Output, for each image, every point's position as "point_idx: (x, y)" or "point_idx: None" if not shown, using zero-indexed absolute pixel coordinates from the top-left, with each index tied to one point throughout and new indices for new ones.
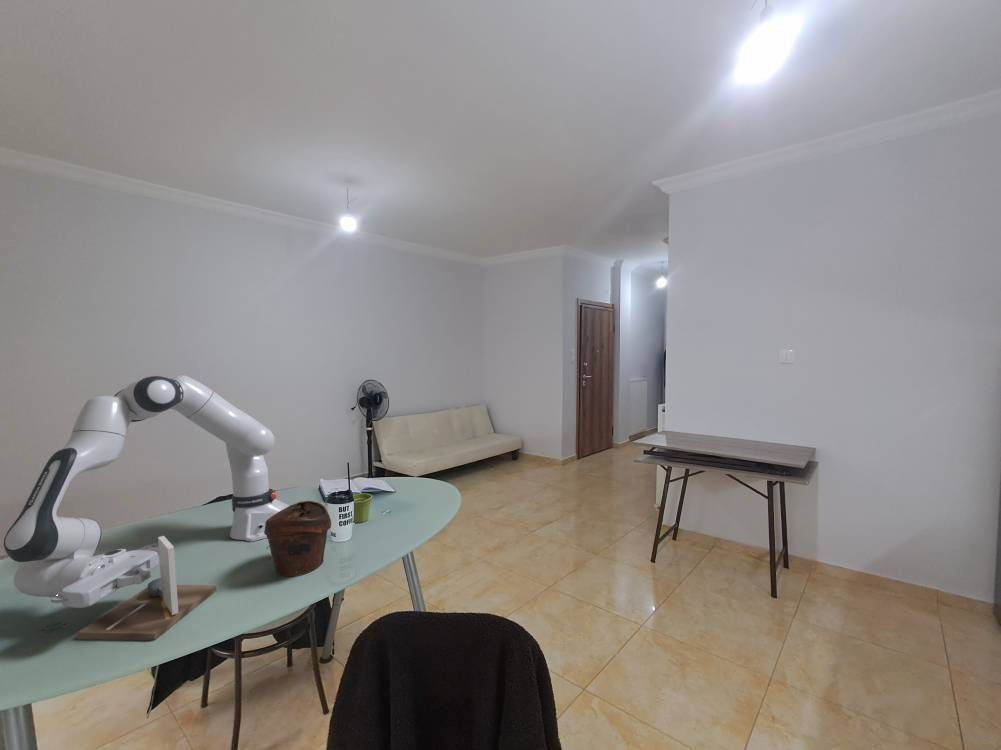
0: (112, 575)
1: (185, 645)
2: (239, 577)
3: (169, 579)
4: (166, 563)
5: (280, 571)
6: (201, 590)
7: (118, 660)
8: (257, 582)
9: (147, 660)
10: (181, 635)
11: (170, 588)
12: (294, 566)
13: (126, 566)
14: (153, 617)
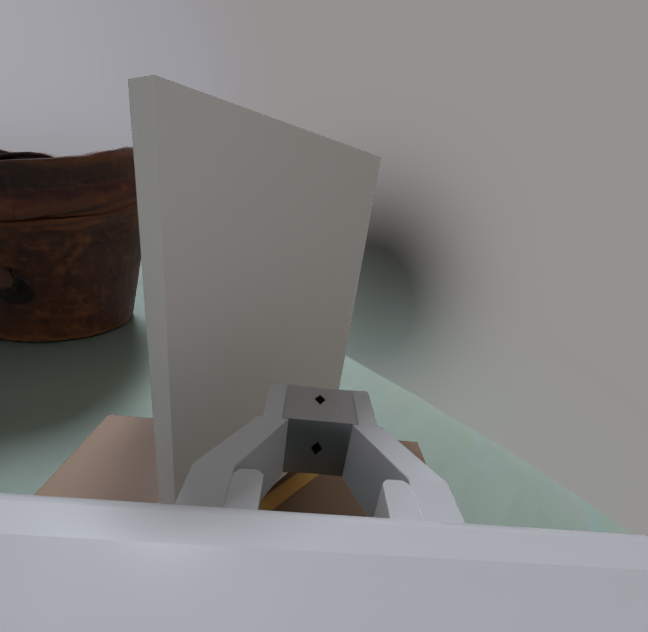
0: (535, 576)
1: (402, 392)
2: (19, 405)
3: (348, 313)
4: (333, 255)
5: (109, 319)
6: (130, 443)
7: (520, 498)
8: (116, 360)
9: (473, 430)
10: (374, 413)
11: (345, 346)
12: (135, 291)
13: (190, 611)
14: (336, 508)
